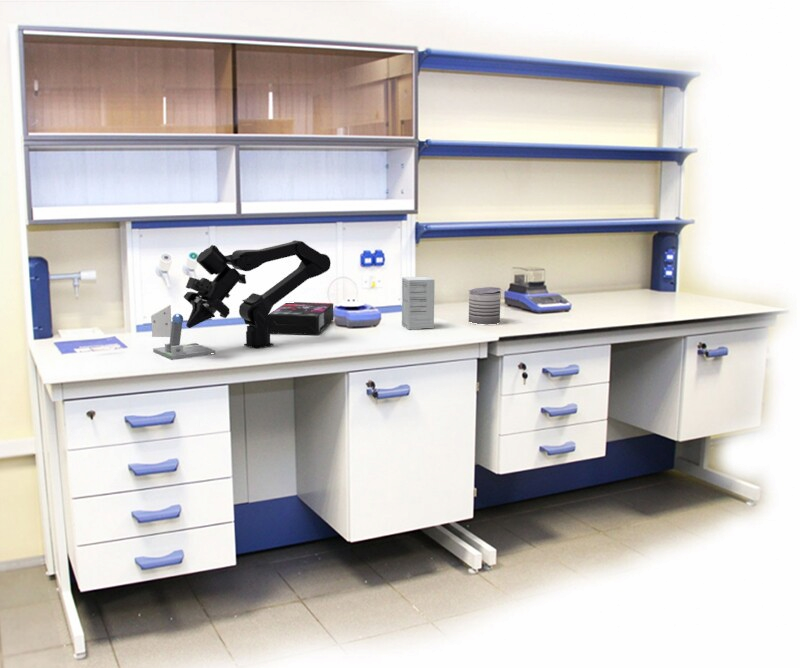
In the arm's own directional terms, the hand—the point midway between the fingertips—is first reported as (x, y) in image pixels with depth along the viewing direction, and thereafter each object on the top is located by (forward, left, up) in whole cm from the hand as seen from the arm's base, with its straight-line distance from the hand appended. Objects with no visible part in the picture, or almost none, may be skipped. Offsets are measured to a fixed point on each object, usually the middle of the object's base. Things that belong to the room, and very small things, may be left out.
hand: (187, 326), depth 240 cm
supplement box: (-80, +16, -8) cm, 82 cm away
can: (-104, +26, -8) cm, 108 cm away
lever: (+4, -1, -6) cm, 7 cm away
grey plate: (-10, -30, -8) cm, 33 cm away
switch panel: (-1, -3, -8) cm, 9 cm away
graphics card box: (-40, -3, -5) cm, 41 cm away
